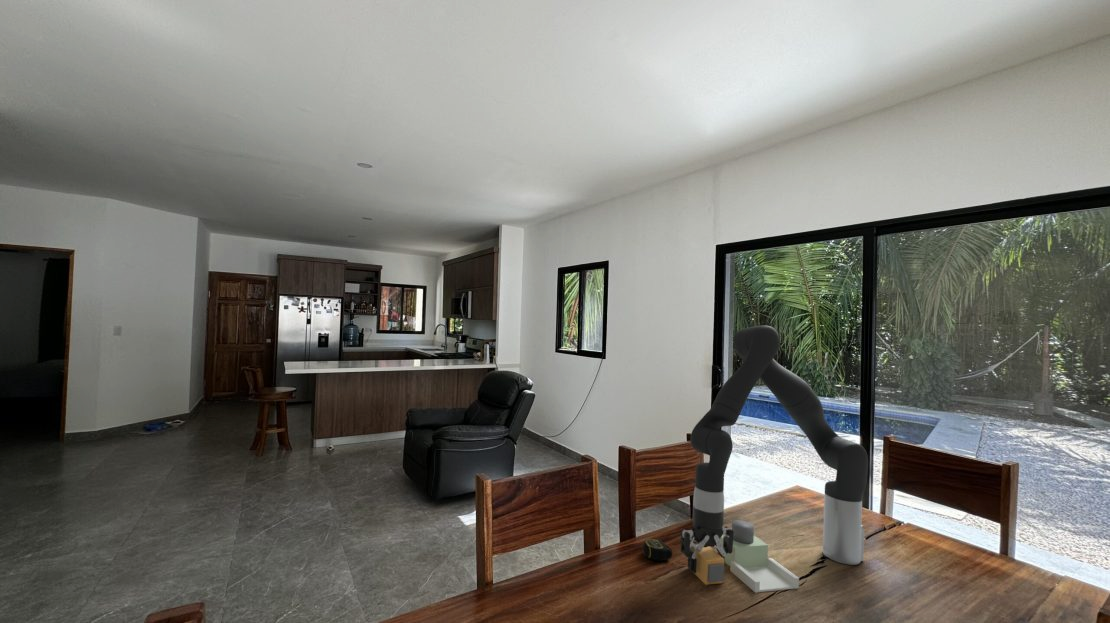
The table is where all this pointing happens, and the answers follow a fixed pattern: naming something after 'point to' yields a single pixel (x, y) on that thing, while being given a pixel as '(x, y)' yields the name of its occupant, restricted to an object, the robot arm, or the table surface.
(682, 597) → the table surface
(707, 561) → the tall mustard block
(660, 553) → the tape measure
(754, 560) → the green stand
